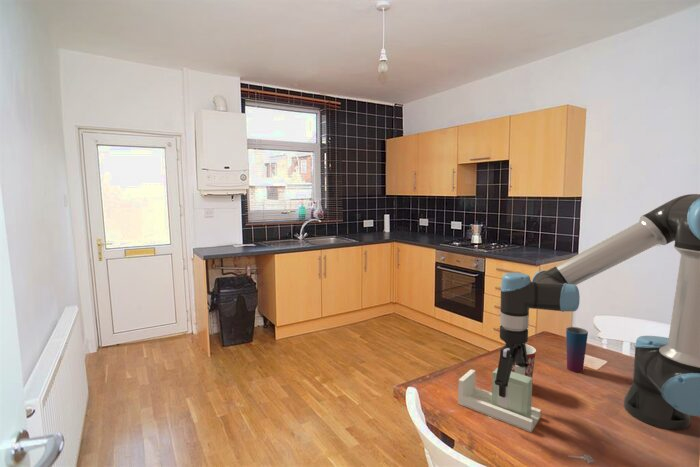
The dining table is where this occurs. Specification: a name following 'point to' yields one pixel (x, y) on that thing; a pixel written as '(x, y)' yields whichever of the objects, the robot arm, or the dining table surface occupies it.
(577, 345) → the cup
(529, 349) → the mug
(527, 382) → the door panel
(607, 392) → the dining table surface
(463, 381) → the track
